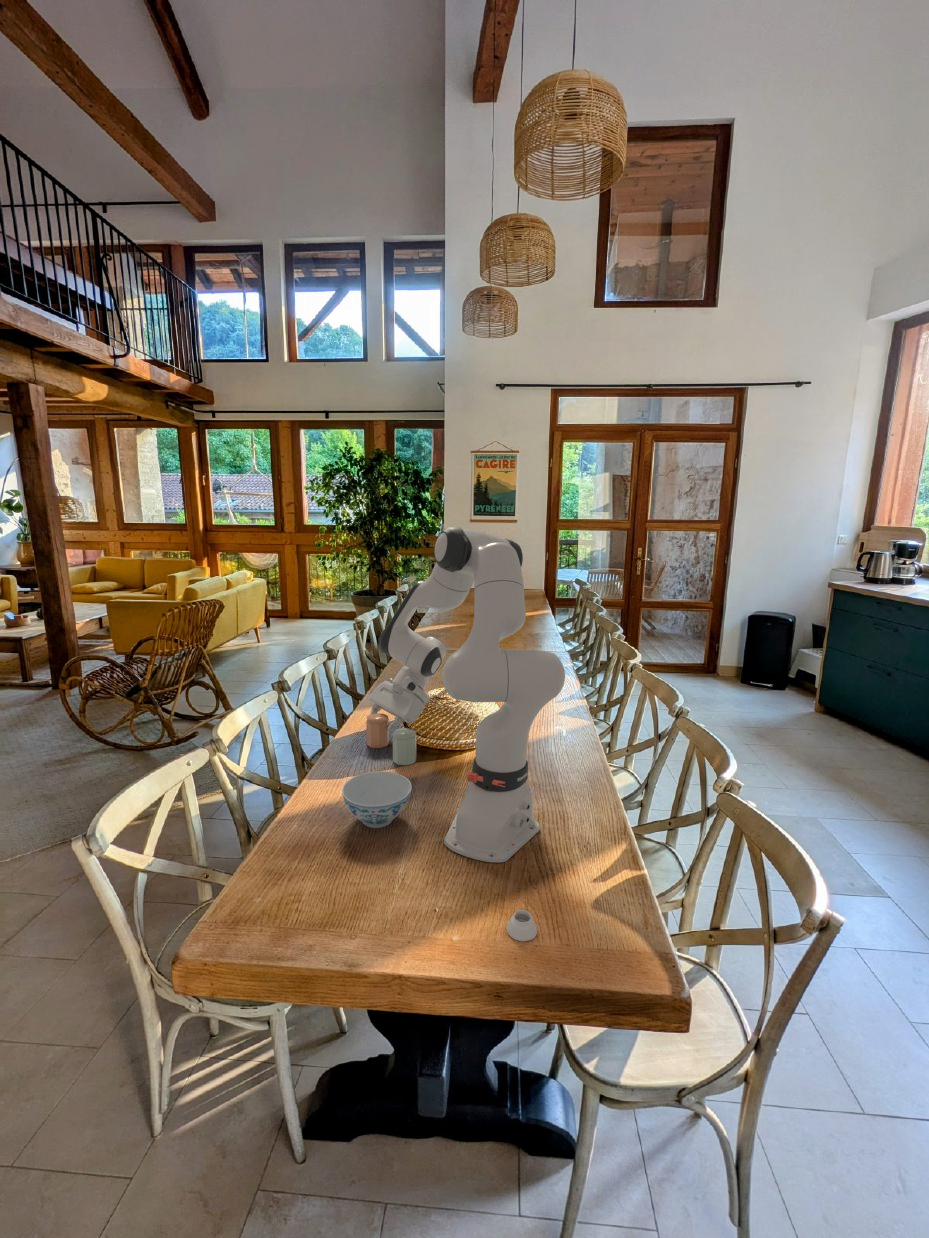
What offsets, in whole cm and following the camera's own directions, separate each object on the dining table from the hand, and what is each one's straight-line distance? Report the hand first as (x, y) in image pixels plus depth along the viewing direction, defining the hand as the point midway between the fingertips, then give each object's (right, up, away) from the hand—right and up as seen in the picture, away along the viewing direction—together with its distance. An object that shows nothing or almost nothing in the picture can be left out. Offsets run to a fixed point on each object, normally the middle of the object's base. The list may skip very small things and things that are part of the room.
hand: (379, 725), depth 162 cm
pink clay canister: (-1, -5, +1) cm, 5 cm away
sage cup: (+8, -8, -9) cm, 15 cm away
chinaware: (+5, -14, -38) cm, 40 cm away
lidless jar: (+34, -21, -69) cm, 80 cm away
